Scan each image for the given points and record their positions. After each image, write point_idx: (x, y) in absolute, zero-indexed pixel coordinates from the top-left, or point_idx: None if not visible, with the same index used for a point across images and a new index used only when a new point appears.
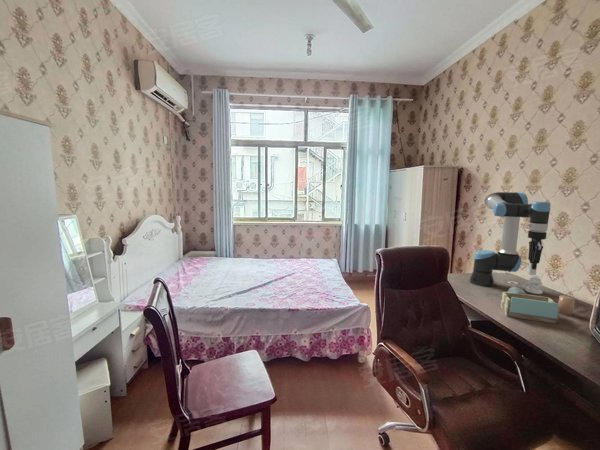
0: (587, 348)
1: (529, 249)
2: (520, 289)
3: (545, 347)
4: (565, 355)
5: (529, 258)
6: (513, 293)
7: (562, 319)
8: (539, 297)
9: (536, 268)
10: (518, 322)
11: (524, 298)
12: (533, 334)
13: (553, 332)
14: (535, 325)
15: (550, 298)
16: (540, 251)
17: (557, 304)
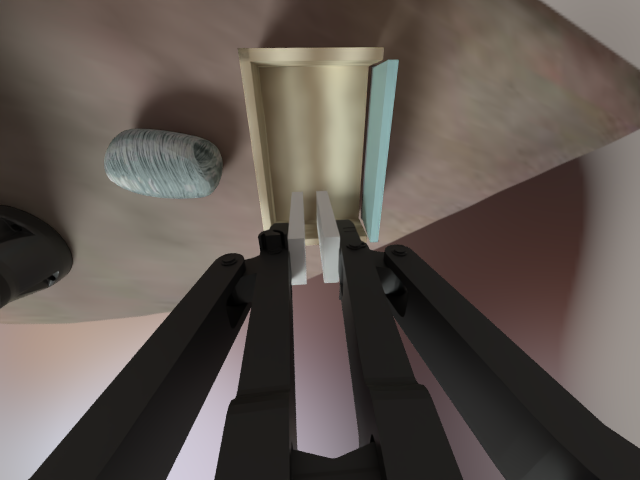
0: (543, 31)
1: (181, 425)
2: (153, 160)
3: (537, 163)
4: (578, 126)
5: (251, 302)
6: (268, 211)
7: (302, 13)
8: (255, 104)
9: (333, 213)
10: (392, 193)
11: (266, 165)
12: (466, 172)
13: (442, 106)
14: (401, 148)
15: (255, 49)
16: (559, 405)
17: (397, 66)
